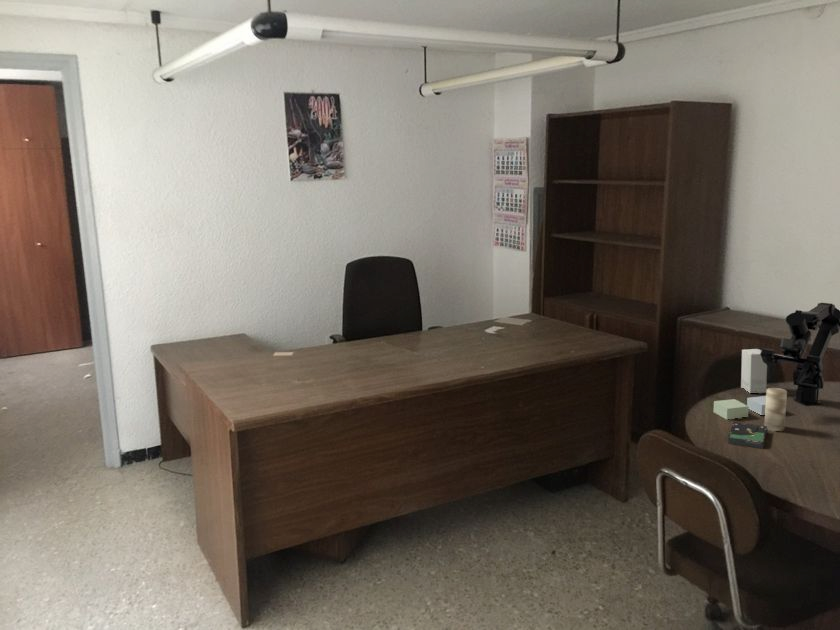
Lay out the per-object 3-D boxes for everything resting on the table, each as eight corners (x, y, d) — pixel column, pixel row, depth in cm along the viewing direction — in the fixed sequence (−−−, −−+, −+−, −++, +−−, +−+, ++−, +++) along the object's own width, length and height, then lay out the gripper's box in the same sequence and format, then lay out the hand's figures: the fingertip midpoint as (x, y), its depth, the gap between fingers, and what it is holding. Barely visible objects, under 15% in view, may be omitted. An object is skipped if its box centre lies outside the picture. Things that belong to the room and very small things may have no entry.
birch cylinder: (776, 424, 237) (778, 387, 234) (788, 430, 231) (791, 392, 228) (760, 425, 236) (762, 388, 233) (771, 432, 230) (774, 394, 227)
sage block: (734, 409, 251) (734, 399, 251) (748, 417, 244) (748, 406, 243) (713, 412, 250) (713, 401, 249) (726, 419, 242) (727, 408, 242)
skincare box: (766, 393, 267) (768, 353, 263) (748, 394, 267) (751, 354, 264) (756, 386, 275) (758, 348, 272) (739, 387, 275) (741, 348, 272)
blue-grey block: (767, 406, 253) (767, 395, 253) (782, 413, 246) (782, 402, 245) (746, 408, 252) (747, 397, 251) (761, 416, 244) (761, 405, 244)
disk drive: (732, 429, 235) (727, 445, 223) (732, 421, 235) (727, 436, 222) (766, 433, 231) (763, 450, 218) (767, 425, 230) (764, 441, 217)
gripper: (764, 325, 244) (748, 361, 238) (823, 333, 230) (808, 372, 225) (771, 344, 251) (756, 380, 245) (829, 353, 237) (814, 391, 232)
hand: (782, 380), depth 237 cm, fingers open, 9 cm apart
